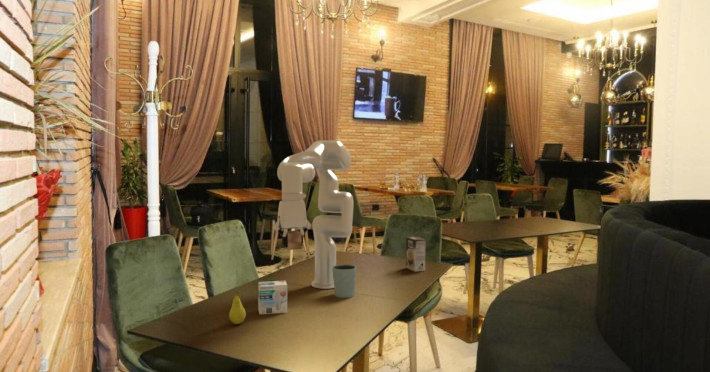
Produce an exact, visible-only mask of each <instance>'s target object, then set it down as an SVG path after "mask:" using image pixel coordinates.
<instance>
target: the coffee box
mask: <svg viewBox="0 0 710 372" xmlns="http://www.w3.org/2000/svg"><path fill="white" fill-rule="evenodd" d="M405 238H406V240H405V242H406V243H405V246H406V247H405V259H406V260H405V268H406V269H407V270H410V271H413V272H423V271H424V272H425V271H426V246H427V245H426V244H427V243H426V241H427V240H426V239H425V238H423V237H419V236H406V237H405Z"/></svg>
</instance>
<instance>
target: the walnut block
mask: <svg viewBox="0 0 710 372" xmlns="http://www.w3.org/2000/svg"><path fill="white" fill-rule="evenodd" d="M286 237H287V242H288V247H287V248H285V247H284V246H283V248H284V249H285V250H288V251H293V250H295V251H296V250H302V247H303V246H301V232H299V231H298V230H287V234H286Z"/></svg>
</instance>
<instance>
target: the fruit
mask: <svg viewBox="0 0 710 372" xmlns="http://www.w3.org/2000/svg"><path fill="white" fill-rule="evenodd" d="M238 293H239V291H237V292H236V294H235V296H234V298H233V299H232V300H233V301H232V304H231V308H230V310H229V315H228V317H229V320H230V321H231V323H232V324H234V325H240V324H241V323H243V322H244V320H245V319H246V315H247V313H246V309H245V308H244V306H243V304H242V302H241V299H240V297H239V295H238Z"/></svg>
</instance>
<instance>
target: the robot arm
mask: <svg viewBox="0 0 710 372" xmlns="http://www.w3.org/2000/svg"><path fill="white" fill-rule="evenodd" d="M346 147H347V146H345V144H344V143H342V141H340V140H334V139H333V140H330V139H329V140H324V139H323V140H320V139H319V140H317V141H314V142H313V143H312V144H311V145H310V146H309V147H307V148H306V150H303V151H300V152H298V153H295V154H292V155H289V156H287V157H285V158H284V159H283V160H282V161H281V162H280V163H279V165H278V167H277V171H276V173H277V175H276V176H277V178H278V180H279V181H280V182H281V200H280V201H279V203H278V211H277V221H276V223H274V225H273V226H272V229H273V230H275V231H276V232H277V233H278V234H279V235H280V236H281V245H282V247H283V248H284V247H285V248H284V249H286V248H287V247H288V242H287V237H286V234H287V231H289V230H288V229H297V231H299V232H301V247H303V244H304V235H305V233H306V232H307V231H308V230H309V229H311V228H312V232H313V239H314V280H313V281H311V287H313V288H316V289H323V290H327V289H328V290H330V289H334V279H333V270H332V267H333V266H335V265H337V246H336V243H335V241H334V240H333V238H348V237H350V236H351V234H352V229H353V221H354V220H353V218H354V203H355V202H354V197H353V194H351V193H350V192H347V191H339V179H338V177H337V175H336V174H335V173H334V172H333V171H348V170H349V169H350V168H351V165H352V157H351V154H350V152H349V151H348V149H347V148H346ZM316 173H317V175H318V181H319V186H318V200H317V207H318V210H319V211H320V212H323V213H329V214H330V213H334V214H335V213H336V214H337V213H338V214H341V215H331V214H330V215H329V214H320V215H316V216H315V217H314V219H313V220H312V223H310V221H309V220H308V218H307V209H306V204H305V200H304V198H306V197H307V194H306V193H304V192H303V183H310V182H311V181H314V178H315V176H316ZM280 228H281V229H280Z"/></svg>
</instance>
